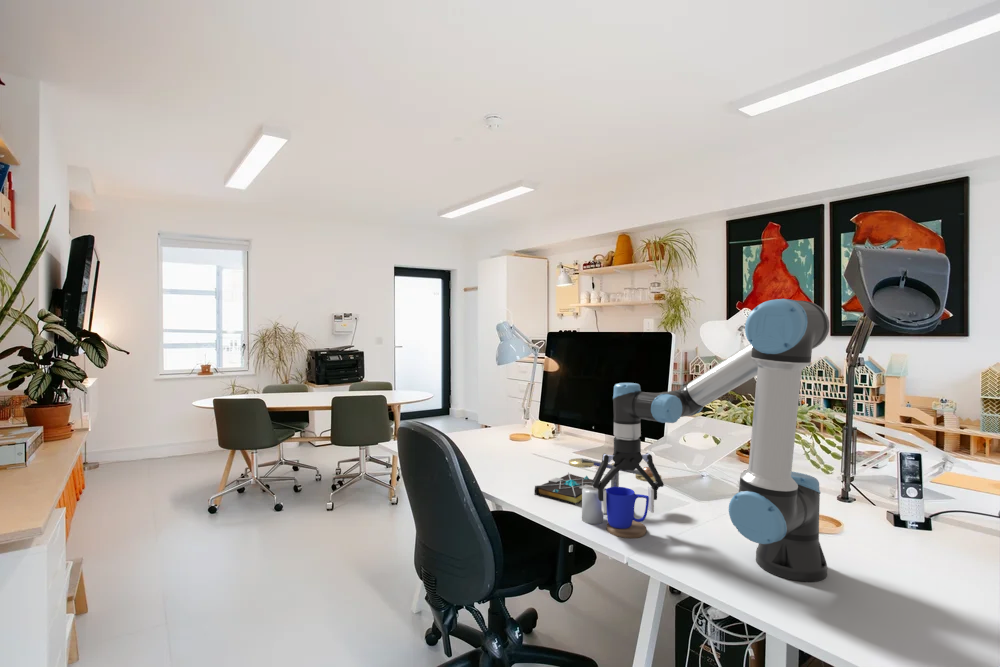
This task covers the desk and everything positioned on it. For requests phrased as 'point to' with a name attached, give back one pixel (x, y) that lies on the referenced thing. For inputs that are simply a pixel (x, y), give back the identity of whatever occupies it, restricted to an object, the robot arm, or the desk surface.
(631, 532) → the dish
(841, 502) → the desk surface
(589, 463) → the balance
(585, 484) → the book
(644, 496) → the mug
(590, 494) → the white cylinder
